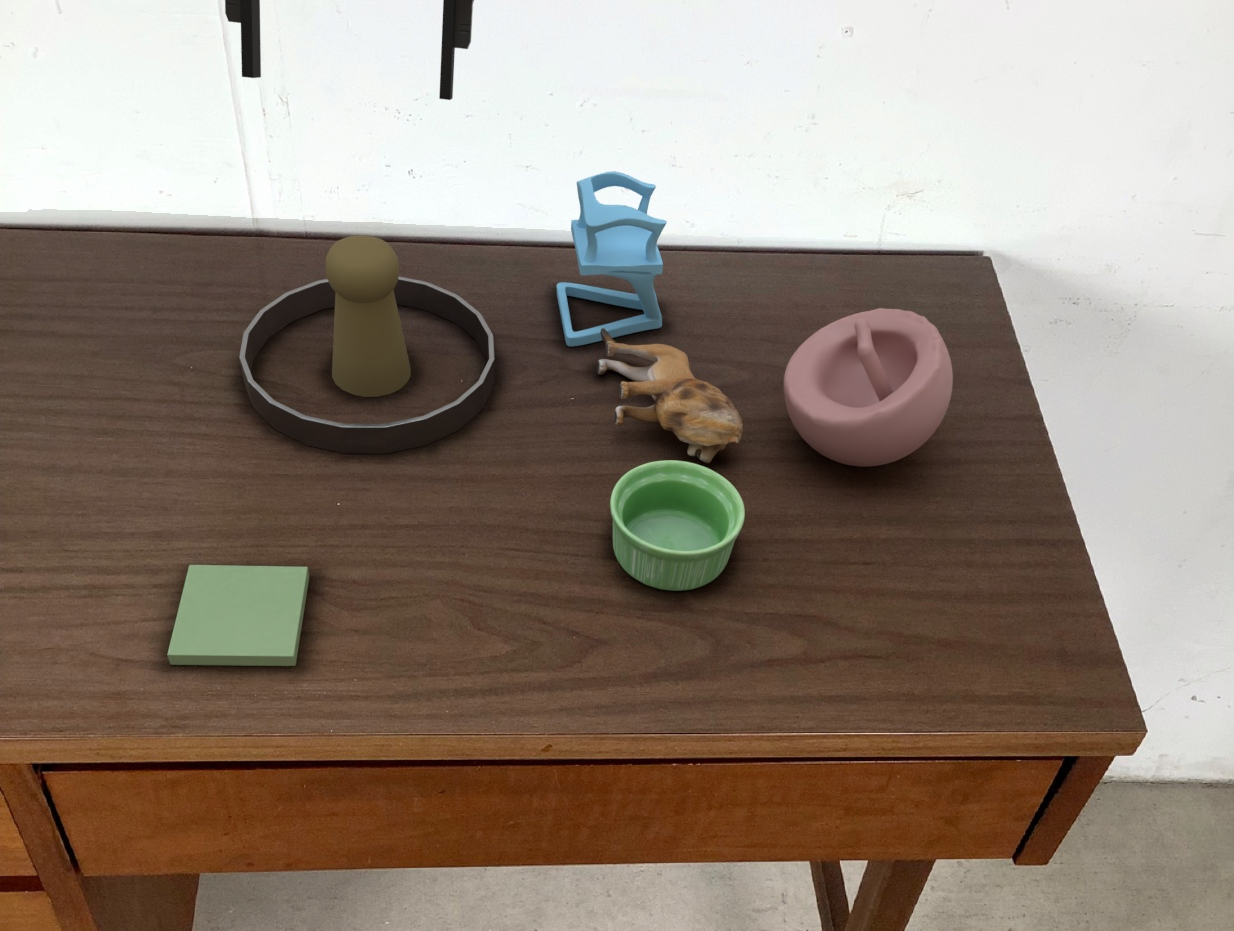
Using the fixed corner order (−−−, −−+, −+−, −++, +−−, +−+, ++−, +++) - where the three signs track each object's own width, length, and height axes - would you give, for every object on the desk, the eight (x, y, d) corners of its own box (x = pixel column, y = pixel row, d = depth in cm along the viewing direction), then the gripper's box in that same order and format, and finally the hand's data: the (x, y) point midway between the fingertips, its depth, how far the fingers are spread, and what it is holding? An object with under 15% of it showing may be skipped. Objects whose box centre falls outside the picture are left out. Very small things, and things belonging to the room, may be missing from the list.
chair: (667, 345, 99) (685, 212, 90) (565, 347, 98) (573, 212, 89) (652, 290, 104) (667, 159, 95) (555, 291, 103) (562, 158, 94)
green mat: (170, 665, 74) (166, 654, 73) (191, 574, 79) (189, 564, 78) (295, 666, 75) (293, 656, 74) (309, 576, 80) (307, 566, 79)
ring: (203, 423, 89) (196, 395, 87) (302, 282, 101) (299, 256, 99) (450, 476, 87) (450, 450, 85) (521, 327, 99) (522, 301, 97)
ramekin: (755, 583, 83) (767, 538, 79) (632, 611, 80) (638, 565, 77) (705, 495, 88) (713, 449, 85) (587, 518, 85) (591, 472, 82)
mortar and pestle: (758, 395, 96) (785, 269, 87) (905, 396, 97) (945, 272, 89) (786, 500, 88) (818, 373, 80) (944, 500, 90) (993, 375, 81)
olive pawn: (425, 382, 94) (419, 257, 85) (353, 406, 91) (340, 279, 83) (388, 339, 97) (379, 215, 89) (318, 362, 94) (302, 235, 86)
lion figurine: (622, 474, 88) (741, 472, 90) (631, 415, 84) (755, 414, 86) (590, 356, 98) (698, 356, 100) (597, 298, 94) (709, 299, 96)
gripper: (134, -318, 73) (153, 68, 82) (550, -260, 75) (524, 109, 84) (169, -287, 80) (182, 67, 89) (549, -234, 82) (525, 105, 91)
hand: (349, 88), depth 86 cm, fingers open, 13 cm apart
